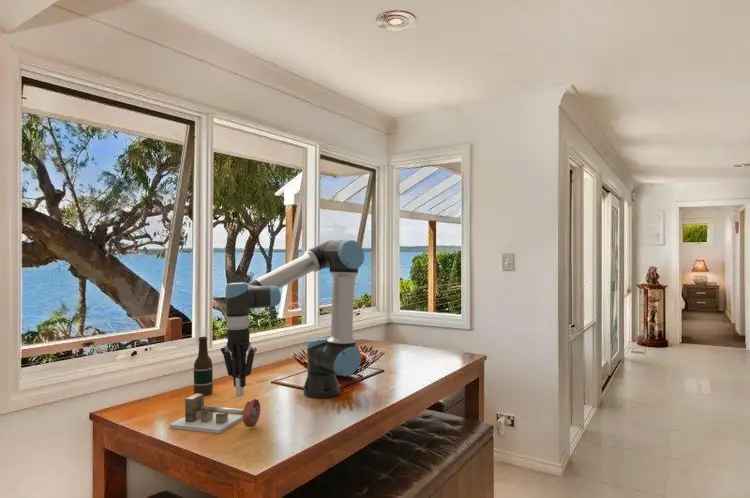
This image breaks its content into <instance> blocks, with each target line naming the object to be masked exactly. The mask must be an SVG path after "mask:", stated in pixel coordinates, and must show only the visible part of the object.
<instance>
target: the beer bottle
mask: <svg viewBox="0 0 750 498" xmlns="http://www.w3.org/2000/svg"><path fill="white" fill-rule="evenodd" d="M197 353H198V354H197V357H196V359H195V360H194V364H193V395H194V394H196V393H199V394H204V397H206V396H210V395H212V394H213V390H214V389H213V388H214V387H213V384H214V383H213V380H214V377H213V376H214V374H213V371H214V370H213V369H214V367H213V361H212V359H211V356H209V351H208V337H207V336H200V337H199V338H198V352H197Z"/></svg>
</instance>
